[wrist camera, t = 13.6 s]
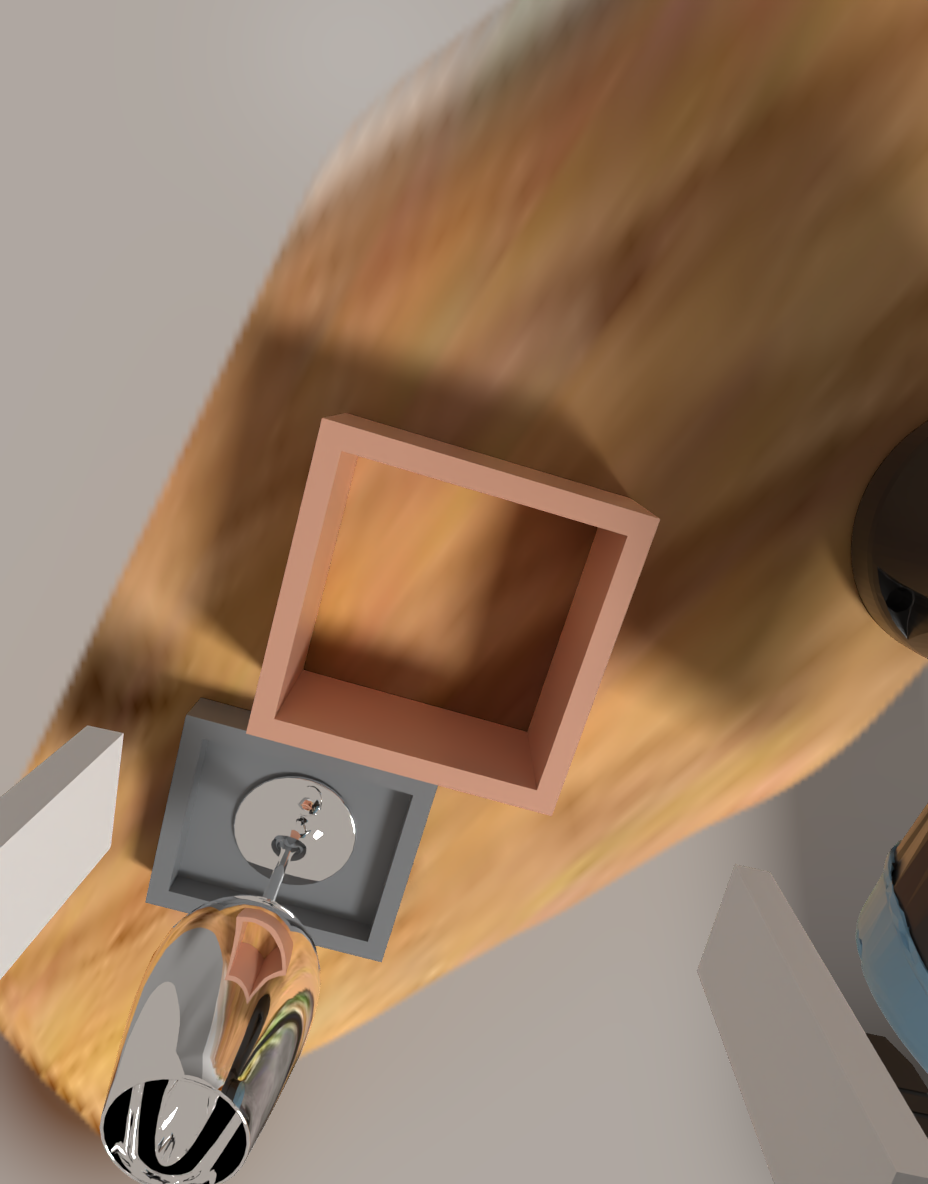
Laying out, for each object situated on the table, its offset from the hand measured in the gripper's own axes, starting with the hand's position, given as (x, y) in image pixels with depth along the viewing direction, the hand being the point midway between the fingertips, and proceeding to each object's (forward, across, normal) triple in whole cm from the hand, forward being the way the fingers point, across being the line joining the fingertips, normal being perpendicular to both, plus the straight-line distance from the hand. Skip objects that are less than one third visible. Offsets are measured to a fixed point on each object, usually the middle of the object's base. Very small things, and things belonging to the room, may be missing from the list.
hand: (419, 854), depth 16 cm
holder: (+29, 0, +2) cm, 29 cm away
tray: (+29, +7, +18) cm, 35 cm away
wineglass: (+28, +6, +18) cm, 34 cm away
